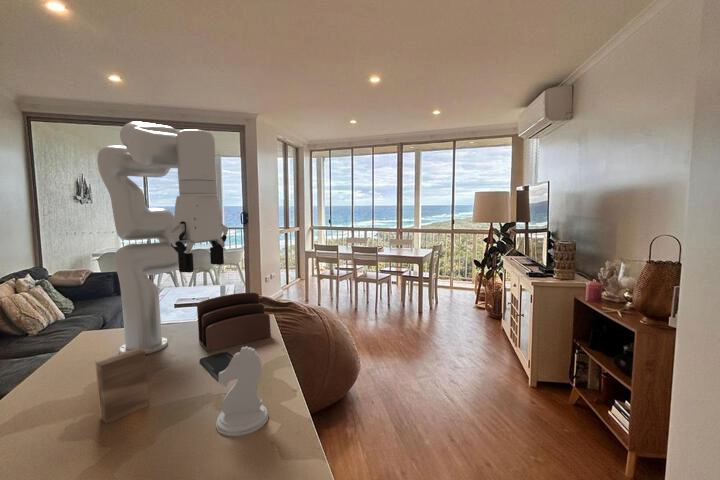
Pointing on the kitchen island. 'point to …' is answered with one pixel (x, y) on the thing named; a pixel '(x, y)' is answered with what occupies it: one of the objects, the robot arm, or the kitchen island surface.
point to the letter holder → (231, 321)
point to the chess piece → (242, 395)
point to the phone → (216, 363)
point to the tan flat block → (122, 384)
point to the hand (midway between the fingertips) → (202, 267)
